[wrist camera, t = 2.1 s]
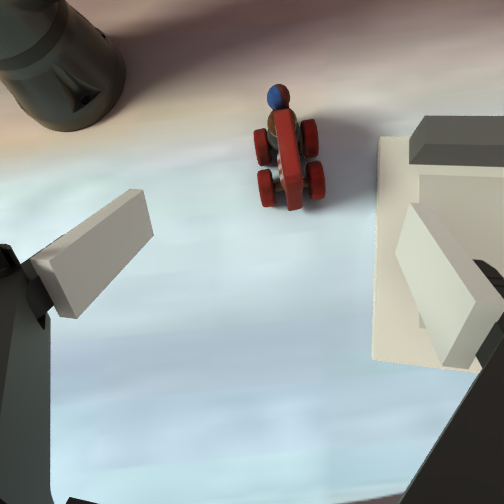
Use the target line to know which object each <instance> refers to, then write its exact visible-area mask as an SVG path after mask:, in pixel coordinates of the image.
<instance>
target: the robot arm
mask: <svg viewBox="0 0 504 504" xmlns="http://www.w3.org/2000/svg"><path fill="white" fill-rule="evenodd" d="M0 80H1V81H2V82H3V84H4V85H5V86H6V88H7V89H8V90H9V91H10V93H11V94H12V95H13V96H14V97H15V99H16V101H17V102H18V104H19V105H20V107H21V108H22V109H23V110H24V111H25V112H26V113H27V114H28V115H29V116H30V117H32V118H33V119H34V120H36V121H37V122H38V123H40V124H41V125H43V126H44V127H46V128H48V129H51V130H55V131H74V130H78V129H82V128H84V127H87V126H89V125H91V124H93V123H95V122H96V121H98V120H99V119H101V118H102V117H103V116H104V115H105V114H106V113H107V112H108V111H109V110H110V109H111V108H112V107H113V106H114V104H115V103H116V101H117V100H118V98H119V96H120V94H121V92H122V89H123V86H124V82H125V65H124V61H123V59H122V57H121V55H120V53H119V52H118V50H117V49H116V47H115V46H114V44H113V43H112V42H111V40H110V39H109V38H108V37H107V36H106V35H105V34H104V33H103V32H102V31H100V30H99V29H98V28H96V27H94V26H93V25H92V24H91V23H90V22H89V21H88V20H87V19H86V18H85V17H84V16H82V15H81V14H80V13H79V12H78V11H76V10H75V9H74V8H73V7H72V6H70V5H69V4H68V3H67V2H66V0H0ZM153 236H154V234H153V230H152V226H151V222H150V217H149V213H148V209H147V205H146V200H145V196H144V192H143V190H136V189H129V190H128V191H126V192H125V193H124V194H122V195H121V196H119V197H118V198H116V199H115V200H113V201H112V202H111V203H109V204H108V205H106V206H105V207H103V208H102V209H101V210H99V211H98V212H96V213H95V214H93V215H92V216H91V217H89V218H88V219H86V220H85V221H83V222H82V223H80V224H79V225H78V226H76V227H75V228H73V229H72V230H70V231H69V232H68V233H66V234H64V235H62V236H61V237H59V238H58V239H56V240H55V241H53V243H51V244H49V245H48V246H46V248H43V249H42V250H40V251H39V252H38V253H36V254H35V255H33V256H32V257H30V258H29V259H27V260H26V261H25V262H23V263H22V264H20V262H19V260H18V259H17V257H16V255H15V253H14V251H13V250H12V248H11V246H10V245H7V244H0V504H54V502H53V499H52V496H51V491H50V320H51V319H50V317H49V315H48V313H47V311H48V310H49V309H50V308H51V307H52V306H54V307H55V309H56V311H57V312H58V314H59V316H60V317H66V318H74V319H77V318H78V317H79V316H80V315H81V314H82V313H83V312H84V311H85V310H86V308H87V307H88V306H89V305H90V304H91V303H92V302H93V301H94V300H95V299H96V298H97V297H98V295H99V294H100V293H101V292H102V291H103V290H104V289H105V288H106V287H107V286H108V285H109V283H110V282H111V281H112V280H113V279H114V278H115V277H116V276H117V275H118V274H119V273H120V272H121V270H122V269H123V268H124V267H125V266H126V265H127V264H128V263H129V262H130V261H131V260H132V258H133V257H134V256H135V255H136V254H137V253H138V252H139V251H140V250H141V249H142V248H143V247H144V245H145V244H146V243H147V242H148V241H149V240H150V239H151V238H152V237H153ZM395 255H396V257H397V259H398V262H399V264H400V267H401V269H402V271H403V274H404V276H405V279H406V281H407V283H408V286H409V288H410V291H411V293H412V295H413V298H414V300H415V303H416V305H417V307H418V310H419V312H420V315H421V317H422V319H423V322H424V324H425V327H426V329H427V331H428V334H429V336H430V339H431V341H432V343H433V346H434V348H435V351H436V353H437V355H438V358H439V360H440V363H441V365H442V366H446V367H454V368H462V369H469V367H470V366H471V364H472V362H473V361H474V359H475V358H476V357H477V359H478V361H479V363H480V365H481V367H482V370H481V371H480V373H479V374H478V376H477V377H476V379H475V380H474V382H473V383H472V385H471V387H470V388H469V390H468V392H467V393H466V395H465V397H464V398H463V400H462V401H461V403H460V405H459V406H458V408H457V409H456V411H455V412H454V414H453V416H452V417H451V419H450V420H449V422H448V424H447V425H446V427H445V428H444V430H443V432H442V433H441V435H440V436H439V438H438V440H437V441H436V443H435V444H434V446H433V448H432V449H431V451H430V452H429V454H428V455H427V457H426V459H425V460H424V462H423V463H422V465H421V467H420V468H419V470H418V471H417V473H416V475H415V476H414V478H413V479H412V481H411V483H410V484H409V486H408V487H407V489H406V491H405V492H404V494H403V495H402V497H401V499H400V500H399V502H398V503H397V504H504V278H503V277H502V275H501V274H500V273H499V272H498V271H497V270H496V269H495V268H494V267H492V266H491V265H489V264H488V263H486V262H485V261H483V260H476V259H471V257H470V256H469V255H468V254H467V252H466V251H465V250H464V248H463V247H462V246H461V245H460V243H459V242H458V241H457V240H456V238H455V237H454V236H453V235H452V233H451V232H450V231H449V229H448V228H447V227H446V226H445V224H444V223H443V222H442V221H441V219H440V218H439V217H438V216H437V214H436V213H435V212H434V211H433V209H432V208H431V207H430V205H429V204H428V203H410V204H409V207H408V210H407V214H406V217H405V221H404V224H403V228H402V231H401V234H400V238H399V241H398V245H397V248H396V251H395ZM66 504H97V503H93V502H89V501H85V500H80V499H76V498H72V497H69V499H68V501H67V502H66Z"/></svg>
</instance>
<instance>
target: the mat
mask: <svg viewBox="0 0 504 504" xmlns="http://www.w3.org/2000/svg"><path fill="white" fill-rule="evenodd" d="M409 139H410V137H390V136H381V137H380V139H379V141H378V161H377V194H376V227H375V260H374V293H373V326H372V359H373V360H378V361H386V362H393V363H401V364H409V365H417V366H424V367H432V368H440V369H447V370H455V371H463V372H471V373H478V374H479V373H480V371H481V370H482V367H481V365H480V363H479V361H478V359H477V357H476V358H475V359H474V361H473V362H472V364H471V366H470V367H469V369H462V368H454V367H446V366H442V365H441V363H440V360H439V358H438V355H437V353H436V351H435V348H434V346H433V343H432V341H431V339H430V336H429V334H428V331H427V329H426V327H425V324H424V322H423V319H422V317H421V315H420V312H419V310H418V307H417V305H416V303H415V300H414V298H413V295H412V293H411V291H410V288H409V286H408V283H407V281H406V279H405V276H404V274H403V271H402V269H401V267H400V264H399V262H398V259H397V257H396V255H395V251H396V248H397V245H398V241H399V238H400V234H401V231H402V228H403V224H404V221H405V217H406V214H407V210H408V207H409V204H410V203H428V204H429V205H430V207H431V208H432V209H433V211H434V212H435V213H436V214H437V216H438V217H439V218H440V219H441V221H442V222H443V223H444V224H445V226H446V227H447V228H448V229H449V231H450V232H451V233H452V235H453V236H454V237H455V238H456V240H457V241H458V242H459V243H460V245H461V246H462V247H463V248H464V250H465V251H466V252H467V254H468V255H469V256H470V257H471V259H476V260H483V261H485V262H486V263H488V264H489V265H491V266H492V267H494V268H495V269H496V270H497V271H498V272H499V273H500V274H501V275H502V277H503V278H504V167H480V166H448V165H415V164H409Z"/></svg>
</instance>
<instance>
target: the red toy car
mask: <svg viewBox="0 0 504 504" xmlns="http://www.w3.org/2000/svg"><path fill="white" fill-rule="evenodd" d="M267 102H268V105H269V106H270V107H271V108H272V109H273V111H272V112H271V113H270V115H269V117H268V131H266V129H265V128H262V129H258V130H255V131H254V143H255V150H256V155H257V160H258V164H259V165H260V166H265V165H270V164H271V163H272V162H271V153H270V151H274V150H278V151H279V152H278V155H277V161H278V168H279V175H280V181H281V182H276V183H273V178H272V173H271V171H270V169H266V170H260V171H258V173H257V177H258V185H259V192H260V197H261V202H262V205H263V207H271V206H275V205H276V197H275V192H278V191H285V194H286V200H287V206H288V210H289V211H293V210H297V209H301V208H302V190H303V187H307V189H308V194H309V197H310V199H311V200H318V199H322V198H324V197H325V177H324V171H323V167H322V164H321V162H320V161H312V162H308V163H307V164H306V168H305V173H306V178H303V175H302V169H301V164H300V158H299V153H301V152H303V155H304V157H305V158H312V157H316V156H317V155H318V150H319V144H318V132H317V126H316V122H315V120H314V119H309V120H304V121H302V122H301V124H300V127H299V125H298V123H297V118H296V115H295V113H294V112H293V111H292V110H291V109H290V108H289V102H290V94H289V91H288V89H287V88H286V86H284V85H282V84H276V85H274V86H272V87H271V88H270V89H269V91H268V94H267Z"/></svg>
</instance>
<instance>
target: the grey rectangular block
mask: <svg viewBox="0 0 504 504" xmlns="http://www.w3.org/2000/svg"><path fill="white" fill-rule="evenodd" d="M409 164H415V165H448V166H480V167H504V116H424V118H423V119H422V121H421V122H420V124H419V125H418V127H417V128H416V130H415V131H414V133H413V134H412V136H411V137H410V139H409Z"/></svg>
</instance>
